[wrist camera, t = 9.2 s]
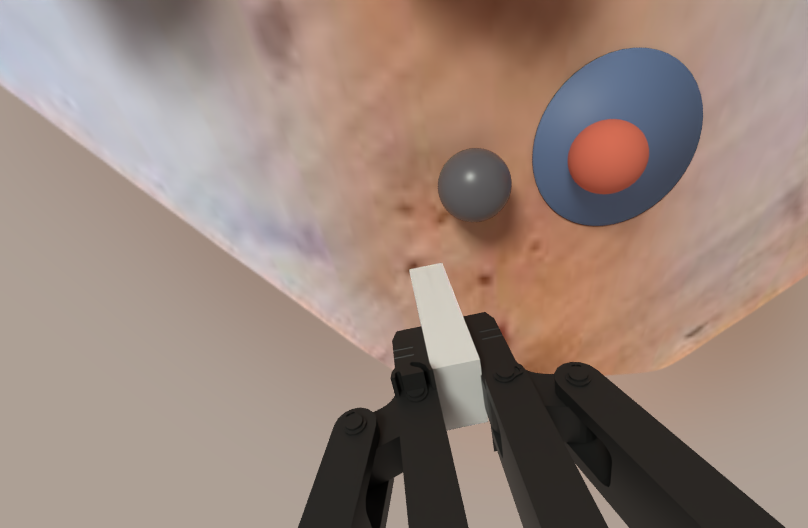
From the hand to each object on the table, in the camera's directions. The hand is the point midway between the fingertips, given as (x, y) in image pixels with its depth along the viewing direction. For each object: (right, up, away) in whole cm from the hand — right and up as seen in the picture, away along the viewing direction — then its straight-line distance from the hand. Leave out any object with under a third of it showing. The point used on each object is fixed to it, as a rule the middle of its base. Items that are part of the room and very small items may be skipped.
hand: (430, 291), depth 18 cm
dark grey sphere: (+4, +7, +12) cm, 15 cm away
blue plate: (+16, +11, +15) cm, 24 cm away
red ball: (+14, +9, +12) cm, 21 cm away
